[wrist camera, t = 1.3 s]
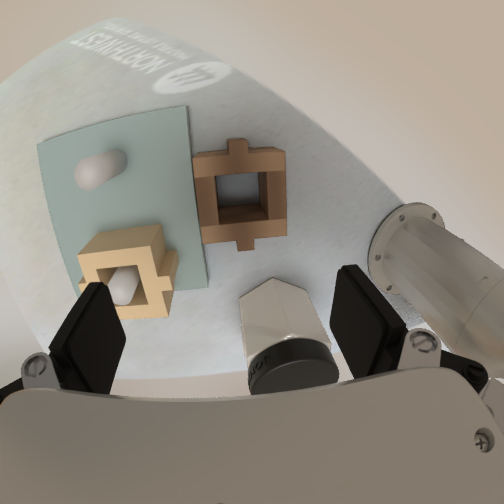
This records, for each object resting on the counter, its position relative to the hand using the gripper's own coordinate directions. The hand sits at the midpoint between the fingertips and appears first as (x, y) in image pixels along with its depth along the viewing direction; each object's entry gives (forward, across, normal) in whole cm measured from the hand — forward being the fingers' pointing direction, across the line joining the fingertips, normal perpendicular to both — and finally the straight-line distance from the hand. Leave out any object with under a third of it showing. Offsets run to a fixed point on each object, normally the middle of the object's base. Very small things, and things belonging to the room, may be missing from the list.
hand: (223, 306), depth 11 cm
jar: (+18, -5, +14) cm, 23 cm away
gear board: (+17, +10, 0) cm, 20 cm away
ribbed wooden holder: (+17, -2, -1) cm, 17 cm away
